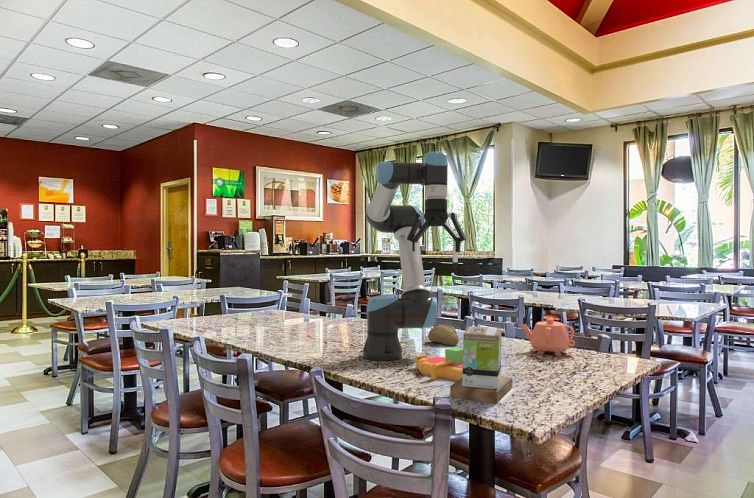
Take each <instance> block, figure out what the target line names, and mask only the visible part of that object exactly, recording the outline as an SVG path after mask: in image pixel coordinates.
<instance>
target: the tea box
mask: <svg viewBox="0 0 754 498" xmlns="http://www.w3.org/2000/svg"><path fill="white" fill-rule="evenodd" d="M462 339H463V340H462V341H463V343H462V344H463V345H462V349H463V372H462V386H465V387H474V388H487V389H497V388H498V386H499V381H500V376H501V375H502V369H501V368H502V327H492V326H491V327H489V326H488V327H487V326H471V325H470V326H468V327H467V328H466V330H465V331H464V332H463V337H462Z"/></svg>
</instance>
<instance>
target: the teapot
mask: <svg viewBox="0 0 754 498" xmlns="http://www.w3.org/2000/svg"><path fill="white" fill-rule="evenodd" d="M521 327H522V329H523V331H524V333H525V335H526V337H527V339H528V341H529V343H530V345H531V347H532V349H533V350H534V351H535V350H536V351H537V352H536V355H544V354H545V352H552V353H553V354H554V356H557V357H560V356H562V353H564V352H566V351H567V350H568V349H569V347H571V348H572V347H575V343H576V342H575V341H574V340H572V339H573V337H574V334H575V328H574V327H572V326H570V325H568V324H567V325H566V324H564V322H563V323H562V322H555V319H554V317H549V318H545V321H538V322H536V323H535V325H534V327H533V330H532V331H531V330H530V328H529V326H528V325H527V324H526V323H523V324H521ZM567 329H570V330H571V333H570V336H569V333H568V331H567ZM560 352H562V353H560Z"/></svg>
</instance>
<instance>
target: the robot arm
mask: <svg viewBox="0 0 754 498" xmlns="http://www.w3.org/2000/svg"><path fill="white" fill-rule="evenodd" d="M448 164H449V161H448V155H447V153H446V152H443V151H429V152H426V153H425V156H424V162H404V161H403V162H401V161H389V160H388V161H379V162H378V163H377V164H376V169H375V178H376V179H375V180H376V181H377V185H376V188H375V191H374V193H373V196H372V199H371V201H370V202H369V203H368V205H367V206H366V209H365V218H366V220H367V223H368V224H369V225H370V227H372V229H374V230H376V231H378V232H380V233H382V234H383V233H384V234H393V238H394V239H395V240H396V241H397V242H398V252H399V259H400V268H401V275H402V286H403V292H402V293H401V294H400V297H399V295H398V294H397V293H390V294H388V293H387V294H381V295H376V296H372V297H370V298H368V300H367V307H366V312H367V314H366V315H367V327H366V329H367V330H366V331H367V333H366V334H367V335H366V339H365V343H364V346H363V348H362V358H364V359H366V360H371V361H382V362H383V361H385V362H386V361H395V360H400V359H402V358H403V347H402V345H401V342H400V340H399V329H428V328H432V327H433V326H434V325H435V323H436V321H437V315H438V300H437V298H436V297H434V296H432V295H431V291H430V290H429V289H427V288H426V281H425V274H424V273H425V272H424V267H423V260H422V253H421V252H422V251H421V247H420V245H421V242H420V239H421V238H422V236H423V235H424V234H425V233H426V231H427V230H428V229H429V228H430V227H443V228H444V229H445V231H446V232H447V233H448V235H450V237H451V238H452V239H453V241H454V242H452V263H458V262H459V261H458V260H459V257H458V255H459V253H460V252H461V243H462V242H464V241H467V237H466V235H465V232H464V231H463V228H462V227H461V224H460V222H459V220H458V215H457V212H453V211H452V212H451V213H450V212H449V213H448V199H446V198H448ZM400 185H420V186H424V198H425V200H424V212H423V209H422V208H421V207H420V206H417V205H412V204H408V205H401V204H400V205H396V204H395V205H393V201H394V198H395V196H396V193H397V191H398V190H399V186H400ZM448 219H450V220H451V222H452V225H453V226H454V228H455V231H456V232H455V231H454V230H453V228H452V227H451V226H450V224H449V223H448V222H447V220H448Z"/></svg>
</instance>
